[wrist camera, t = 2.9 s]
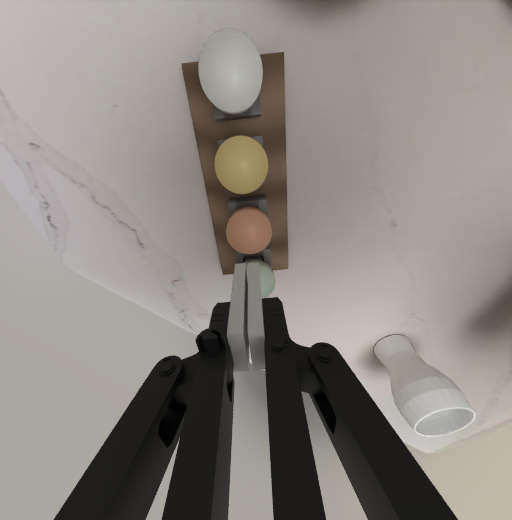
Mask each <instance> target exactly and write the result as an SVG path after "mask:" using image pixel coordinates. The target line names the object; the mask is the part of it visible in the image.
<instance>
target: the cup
mask: <svg viewBox="0 0 512 520" xmlns="http://www.w3.org/2000/svg"><path fill="white" fill-rule="evenodd" d="M374 353H375V355H376V356H377V358H378V359H379V360H380V361H381V363H382V364H383V365H384V366H385V367H386V370H387V372H388V374H389V376H390V381H391V391H392V394H393V398H394V402H395V404H396V406H397V408H398V410H399V411H400V413H401V415H402V416H403V418H404V419H405V420H406V421H407V422H408V424H409V425H410V426H411V427H412V429H413V430H414V431H415V432H416V433H417V434H419V435H421V436H427V437H435V436H443V435H448V434H451V433H454V432H457V431H459V430H461V429H463V428H465V427H467V426H468V425H469V424H471V423H472V422H473V420H474V419H475V412H474V410H473V409H472V407H471V405H470V403H469V402H468V400H467V398H466V396H465V395H464V393H463V392H462V391H461V390H460V389H459V387H458V386H457V385H456V384H455V383H454V382H453V381H452V380H451V379H449V378H448V377H447V376H445V375H444V374H443V373H441V372H440V371H439V370H437V369H436V368H434V367H432V366H430V365H428V364H427V363H425V362H424V361H423V360H422V359H421V358H420V357H419V356H418V355H417V354H416V352H415V350H414V348H413V347H412V345H411V343H410V342H409V340H408V338H406V337H405V336H402V335H391V336H387V337H385V338H383V339H381V340H380V341H379V342H378V343H377V344H376V345H375V347H374Z"/></svg>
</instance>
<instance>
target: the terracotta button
mask: <svg viewBox="0 0 512 520" xmlns="http://www.w3.org/2000/svg"><path fill="white" fill-rule="evenodd" d="M226 237H227V240H228V242H229V244H230V245H231V246H232V247H233V248H234V249H235V250H236V251H238V252H240V253H244V254H255V253H258V252H260V251H262V250H263V249H265V248H266V247H267V246H268V244H269V243H270V240H271V237H272V228H271V224H270V221H269V218H268V217H267V215H266V214H265V213H264V212H263V211H262V210H260V209H258V208H255V207H243V208H240V209H238V210H236V211H235V212H234V213H233V214H232V215H231V217H230V218H229V221H228V224H227V228H226Z"/></svg>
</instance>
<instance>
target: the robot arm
mask: <svg viewBox="0 0 512 520" xmlns="http://www.w3.org/2000/svg"><path fill="white" fill-rule="evenodd" d="M196 344H197V346H198V349H199V352H198V353H197V354H195V355H193V356H190V357H188V358H185V359H183V360H181V359H180V358H179V357H177V356H168V357H165V358H163V359H162V360H160V361H159V362H158V363H157V364H156V366H154V368H153V369H152V371H151V373H150V374H149V376H148V377H147V379H146V380H145V382H144V383H143V385H142V386H141V388H140V389H139V391H138V392H137V394H136V396H135V397H134V399H133V400H132V401H131V403H130V404H129V406H128V408H127V409H126V411H125V412H124V414H123V415H122V417H121V418H120V420H119V421H118V423H117V424H116V426H115V427H114V429H113V430H112V432H111V433H110V435H109V436H108V438H107V439H106V441H105V442H104V444H103V446H102V447H101V449H100V450H99V452H98V453H97V455H96V456H95V458H94V459H93V461H92V462H91V464H90V465H89V467H88V468H87V470H86V471H85V473H84V475H83V476H82V478H81V479H80V481H79V482H78V483H77V485H76V487H75V488H74V490H73V491H72V493H71V494H70V496H69V497H68V499H67V500H66V502H65V503H64V505H63V506H62V508H61V510H60V511H59V513H58V514H57V515H56V517H55V518H54V520H145V519H146V517H147V515H148V512H149V510H150V507H151V505H152V503H153V500H154V498H155V495H156V493H157V491H158V488H159V486H160V484H161V481H162V479H163V476H164V474H165V471H166V469H167V467H168V464H169V462H170V459H171V457H172V455H173V453H174V450H175V448H176V445H177V443H178V441H179V445H178V449H177V454H176V458H175V463H174V468H173V472H172V476H171V481H170V485H169V490H168V494H167V499H166V503H165V507H164V512H163V516H162V520H228V507H229V485H230V465H231V464H230V463H231V445H232V424H233V403H234V402H233V401H234V377H233V370H235V371H246V370H249V345H250V352H251V358H252V365H253V369H254V370H258V369H265V371H266V389H267V407H268V424H269V442H270V460H271V479H272V497H273V513H274V514H273V515H274V520H326V517H325V512H324V506H323V502H322V496H321V491H320V486H319V481H318V475H317V471H316V465H315V460H314V455H313V450H312V445H311V439H310V435H309V430H308V424H307V419H306V414H305V409H304V404H303V398H302V393H301V391H303V392H307V393H309V395H310V397H311V399H312V401H313V403H314V405H315V407H316V410H317V412H318V414H319V416H320V418H321V420H322V422H323V424H324V427H325V428H326V431H327V433H328V435H329V437H330V439H331V442H332V444H333V446H334V448H335V450H336V452H337V454H338V456H339V459H340V461H341V463H342V465H343V467H344V469H345V471H346V474H347V476H348V478H349V480H350V482H351V484H352V486H353V488H354V491H355V493H356V495H357V497H358V499H359V501H360V503H361V505H362V508H363V510H364V512H365V514H366V516H367V518H368V520H458V519H457V518H456V516H455V515H454V513H453V512H452V510H451V509H450V508H449V506H448V505H447V503H446V502H445V501H444V499H443V498H442V496H441V495H440V494H439V492H438V491H437V490H436V488H435V487H434V485H433V484H432V482H431V481H430V480H429V478H428V477H427V476H426V474H425V473H424V471H423V470H422V468H421V467H420V466H419V464H418V463H417V461H416V460H415V459H414V457H413V456H412V454H411V453H410V452H409V450H408V449H407V447H406V446H405V444H404V443H403V442H402V440H401V439H400V437H399V436H398V435H397V433H396V432H395V430H394V429H393V428H392V426H391V425H390V423H389V422H388V421H387V419H386V418H385V416H384V415H383V413H382V412H381V411H380V409H379V408H378V406H377V405H376V404H375V402H374V401H373V399H372V398H371V397H370V395H369V394H368V392H367V391H366V390H365V388H364V387H363V385H362V384H361V383H360V381H359V380H358V378H357V377H356V376H355V374H354V373H353V371H352V370H351V368H350V367H349V366H348V364H347V363H346V361H345V360H344V359H343V357H342V356H341V354H340V353H339V352H338V350H337V349H336V348H335V347H334V346H332V345H330V344H328V343H323V342H321V343H316V344H314V345H312V347H311V348H310V347H305V346H301V345H298V344H296V343H294V342H293V341H292V340H291V338H290V337H289V334H288V329H287V324H286V320H285V315H284V310H283V305H282V302H281V301H280V299H279V298H278V297H274V298H263V299H262V292H261V282H260V271H259V262H252V263H248V279H247V272H246V264H245V263H241V264H235V269H234V278H233V286H232V294H231V302H224V303H217V304H216V306H215V307H214V308H213V311H212V317H211V320H210V325H209V329H206V330H204V331H202V332H201V333H200V334H199V335H198V336H197V338H196ZM179 438H180V440H179Z"/></svg>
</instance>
